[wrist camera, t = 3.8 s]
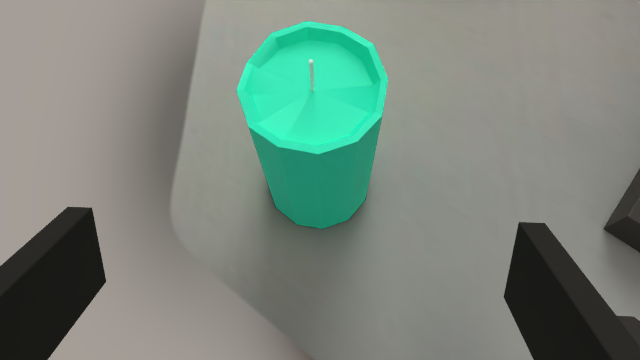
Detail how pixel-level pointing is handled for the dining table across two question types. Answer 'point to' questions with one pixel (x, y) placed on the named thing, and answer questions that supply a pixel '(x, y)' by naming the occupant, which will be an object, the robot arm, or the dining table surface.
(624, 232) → the scale
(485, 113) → the dining table surface
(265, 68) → the candle
